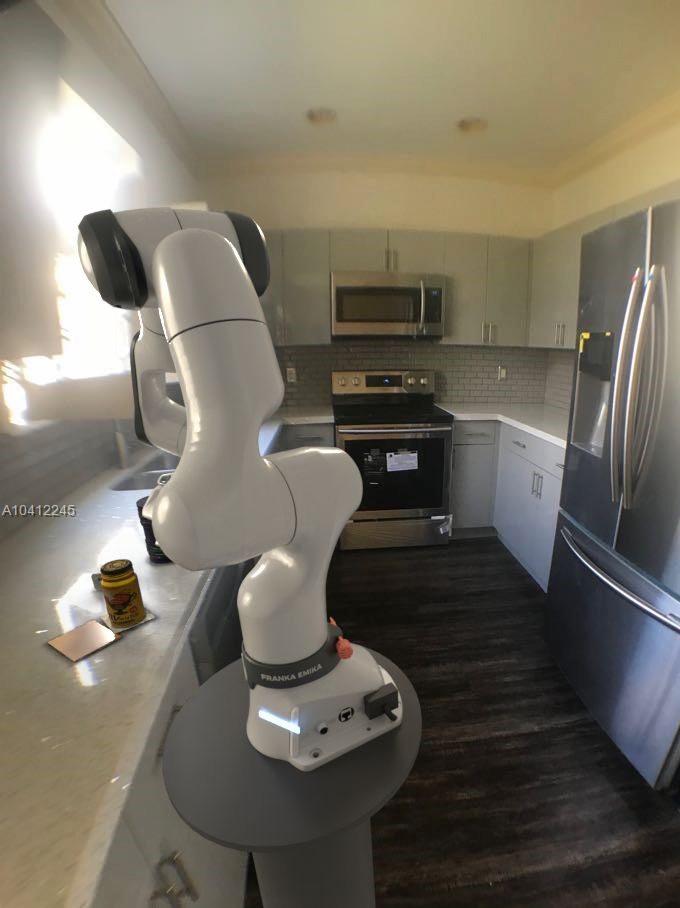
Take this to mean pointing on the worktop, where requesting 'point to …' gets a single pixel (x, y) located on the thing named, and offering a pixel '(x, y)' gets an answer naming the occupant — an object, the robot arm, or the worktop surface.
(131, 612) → the condiment
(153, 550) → the storage jar
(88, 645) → the copper flat rectangular plate
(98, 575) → the usb wall charger
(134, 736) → the worktop surface
